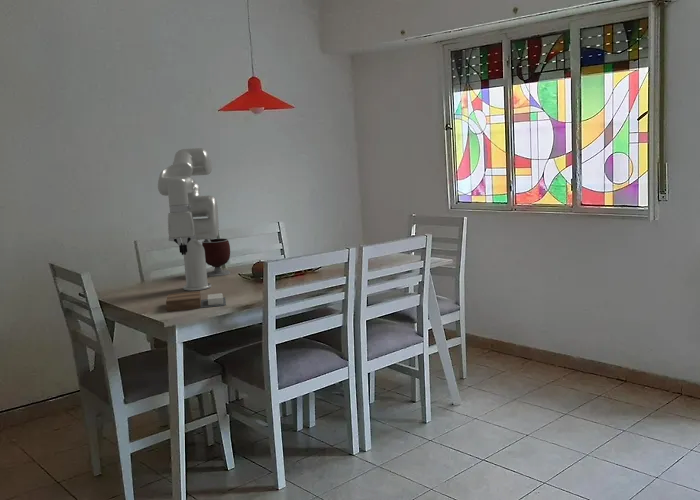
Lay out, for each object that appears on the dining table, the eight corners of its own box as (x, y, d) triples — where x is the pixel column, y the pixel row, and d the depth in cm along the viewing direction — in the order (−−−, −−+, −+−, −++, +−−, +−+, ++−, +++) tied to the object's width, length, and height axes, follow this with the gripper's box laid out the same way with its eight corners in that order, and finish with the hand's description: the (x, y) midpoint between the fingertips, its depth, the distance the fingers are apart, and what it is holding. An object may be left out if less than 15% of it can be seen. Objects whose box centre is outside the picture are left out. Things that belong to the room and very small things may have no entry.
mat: (201, 300, 286) (201, 299, 286) (225, 298, 288) (225, 297, 288) (200, 308, 272) (200, 307, 272) (225, 305, 274) (225, 304, 274)
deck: (169, 303, 283) (168, 294, 283) (201, 300, 286) (200, 291, 285) (167, 311, 270) (166, 301, 269) (200, 308, 272) (199, 298, 272)
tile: (222, 293, 284) (222, 299, 285) (207, 294, 283) (208, 300, 284) (222, 297, 276) (223, 303, 276) (207, 299, 275) (208, 305, 275)
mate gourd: (237, 271, 348) (234, 232, 345) (222, 276, 336) (218, 236, 332) (211, 270, 354) (208, 232, 351) (195, 276, 341) (192, 236, 338)
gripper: (198, 206, 277) (202, 251, 280) (160, 209, 274) (165, 254, 277) (198, 208, 270) (202, 254, 273) (159, 211, 267) (164, 257, 270)
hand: (183, 254), depth 275 cm, fingers closed
